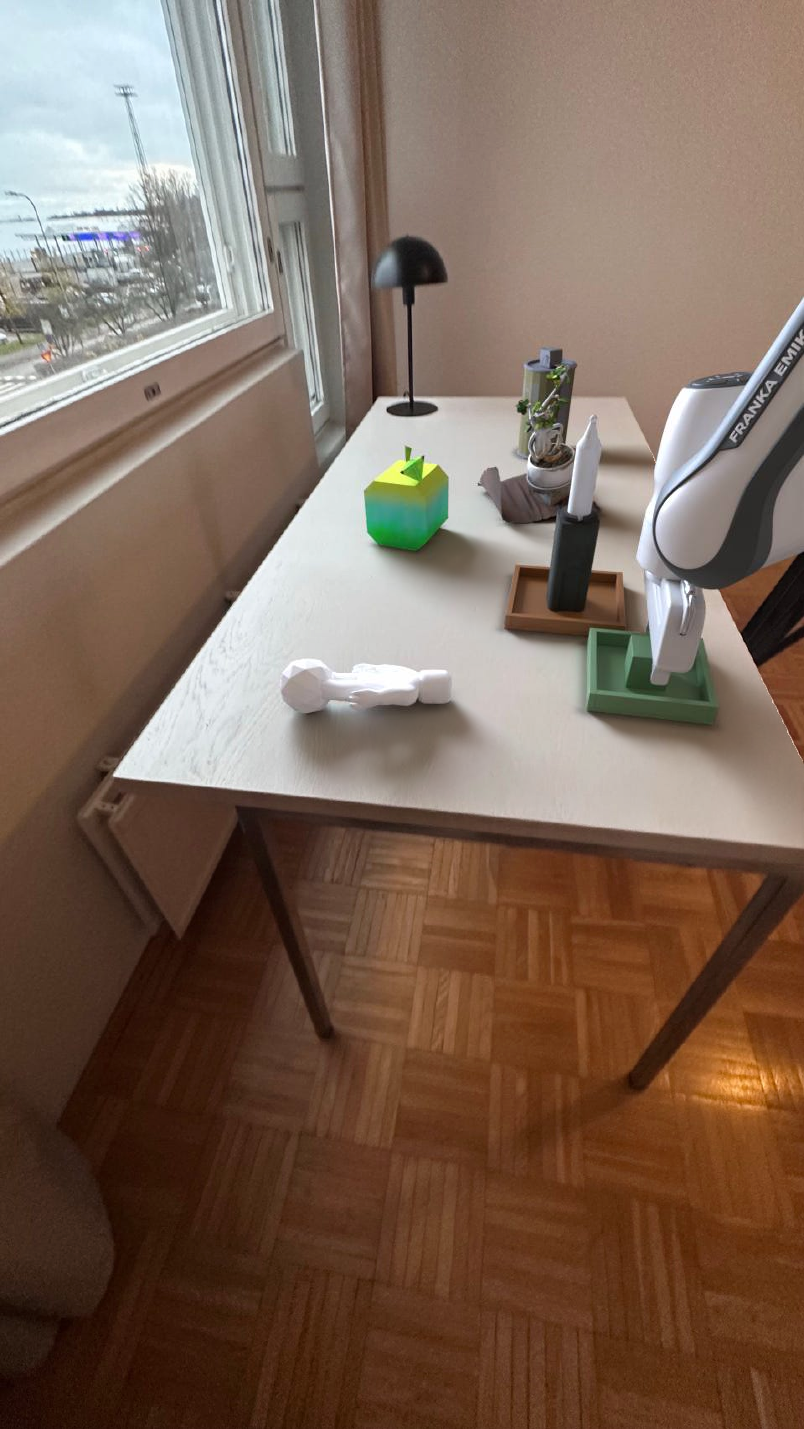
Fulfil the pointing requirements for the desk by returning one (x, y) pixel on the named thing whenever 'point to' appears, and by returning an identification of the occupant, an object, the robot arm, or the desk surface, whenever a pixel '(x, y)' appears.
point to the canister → (545, 392)
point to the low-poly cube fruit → (407, 503)
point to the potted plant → (537, 466)
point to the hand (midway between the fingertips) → (655, 656)
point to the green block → (639, 664)
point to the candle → (576, 530)
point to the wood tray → (534, 615)
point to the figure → (361, 686)
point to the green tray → (679, 702)
